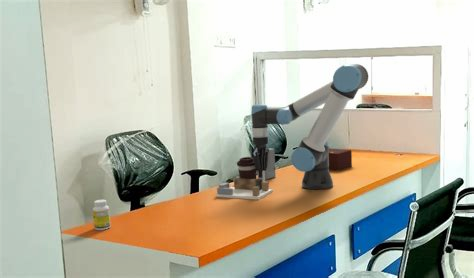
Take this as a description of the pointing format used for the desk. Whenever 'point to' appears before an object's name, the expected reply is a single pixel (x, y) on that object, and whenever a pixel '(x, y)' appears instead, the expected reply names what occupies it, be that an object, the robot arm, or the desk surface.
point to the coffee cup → (246, 168)
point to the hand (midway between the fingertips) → (262, 183)
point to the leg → (247, 183)
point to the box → (339, 159)
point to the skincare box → (270, 165)
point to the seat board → (243, 191)
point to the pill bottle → (101, 215)
